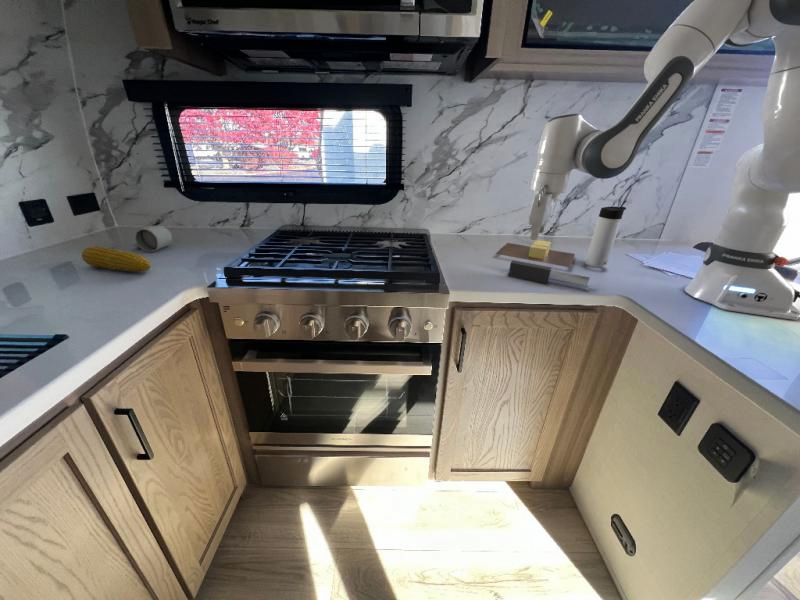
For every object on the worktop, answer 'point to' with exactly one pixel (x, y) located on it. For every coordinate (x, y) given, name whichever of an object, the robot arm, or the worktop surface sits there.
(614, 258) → the worktop surface
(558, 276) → the knife
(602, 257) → the travel mug
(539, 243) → the butter block
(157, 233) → the ceramic mug
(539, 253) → the butter slice
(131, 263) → the food
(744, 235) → the robot arm
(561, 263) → the cutting board
